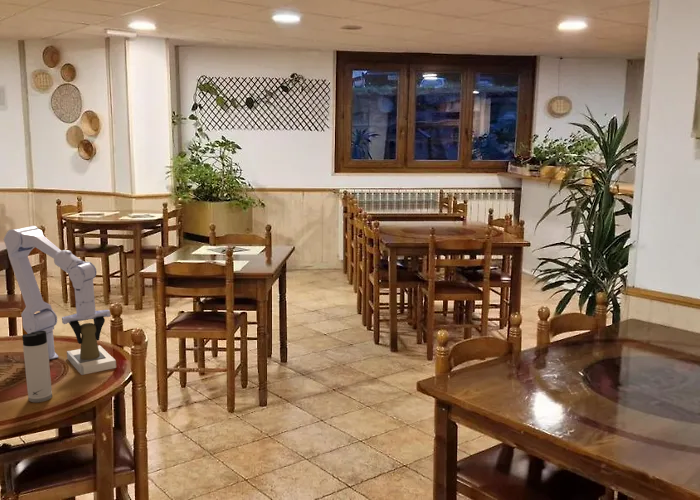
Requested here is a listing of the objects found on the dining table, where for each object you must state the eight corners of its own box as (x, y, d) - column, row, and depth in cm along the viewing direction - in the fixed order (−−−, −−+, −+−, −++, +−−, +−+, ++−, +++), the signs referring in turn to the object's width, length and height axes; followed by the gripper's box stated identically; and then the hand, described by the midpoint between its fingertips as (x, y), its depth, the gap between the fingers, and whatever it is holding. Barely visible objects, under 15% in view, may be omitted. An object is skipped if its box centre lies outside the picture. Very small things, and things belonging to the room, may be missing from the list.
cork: (93, 360, 219) (90, 327, 217) (76, 359, 220) (73, 326, 218) (103, 353, 225) (101, 321, 223) (86, 352, 226) (84, 320, 224)
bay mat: (73, 356, 224) (73, 355, 224) (98, 351, 229) (98, 350, 229) (80, 363, 218) (79, 362, 218) (105, 358, 222) (105, 357, 222)
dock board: (67, 358, 229) (66, 351, 228) (100, 352, 235) (99, 344, 235) (81, 375, 215) (80, 367, 214) (116, 367, 221) (115, 360, 220)
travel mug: (37, 404, 193) (31, 336, 189) (23, 399, 196) (17, 332, 192) (57, 397, 198) (51, 330, 194) (43, 392, 201) (37, 326, 197)
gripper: (64, 307, 212) (68, 348, 215) (111, 299, 220) (114, 340, 223) (58, 302, 218) (62, 343, 220) (105, 295, 226) (108, 334, 229)
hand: (88, 341), depth 222 cm, fingers closed on cork, 5 cm apart
